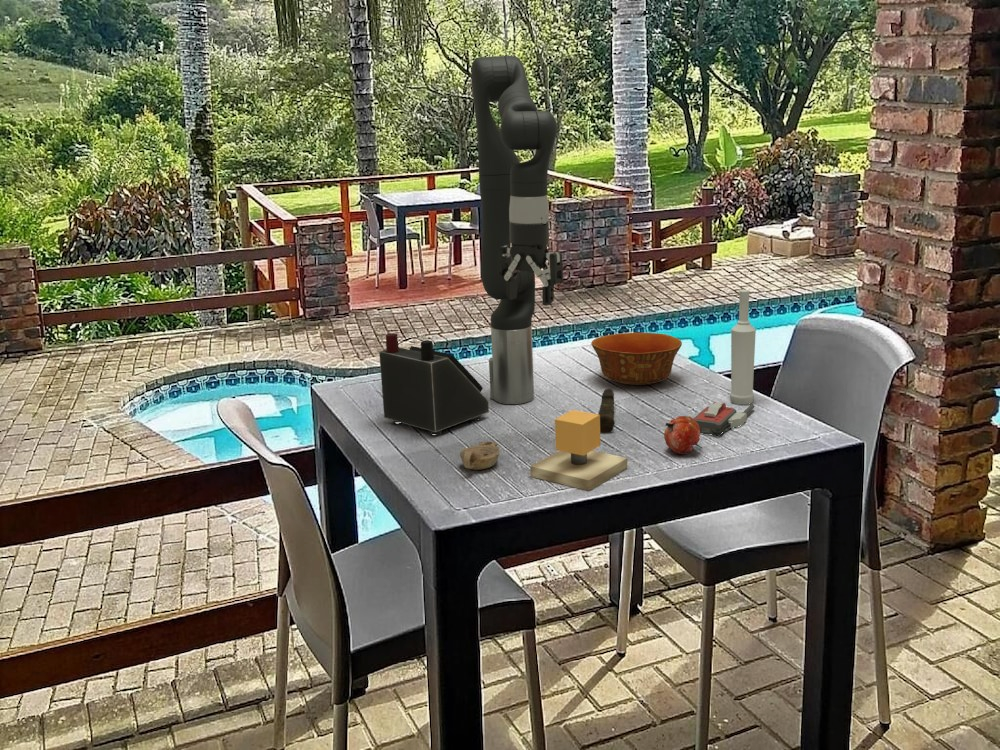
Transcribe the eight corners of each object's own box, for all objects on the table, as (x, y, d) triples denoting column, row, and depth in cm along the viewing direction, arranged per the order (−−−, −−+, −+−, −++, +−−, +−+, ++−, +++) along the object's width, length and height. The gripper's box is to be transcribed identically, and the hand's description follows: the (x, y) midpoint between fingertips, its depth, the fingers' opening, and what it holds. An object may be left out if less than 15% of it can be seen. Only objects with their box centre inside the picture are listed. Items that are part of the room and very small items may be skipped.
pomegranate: (686, 453, 210) (647, 428, 207) (709, 425, 208) (671, 400, 205) (696, 470, 203) (657, 445, 200) (720, 441, 201) (681, 416, 198)
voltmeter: (490, 418, 229) (486, 328, 224) (435, 438, 218) (430, 345, 212) (439, 404, 240) (433, 319, 234) (384, 423, 228) (377, 334, 223)
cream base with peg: (530, 476, 195) (528, 425, 193) (570, 455, 205) (568, 406, 202) (589, 490, 188) (588, 437, 185) (627, 468, 197) (627, 417, 194)
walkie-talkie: (728, 441, 210) (757, 412, 227) (728, 420, 209) (758, 393, 225) (686, 435, 214) (718, 407, 231) (686, 415, 213) (718, 388, 230)
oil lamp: (475, 453, 209) (474, 429, 207) (510, 457, 206) (509, 432, 204) (447, 476, 197) (446, 451, 196) (484, 481, 194) (482, 455, 193)
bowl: (619, 365, 265) (619, 326, 262) (696, 376, 253) (697, 336, 250) (575, 386, 249) (574, 345, 246) (656, 399, 237) (656, 356, 234)
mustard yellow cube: (555, 450, 195) (554, 419, 193) (573, 439, 199) (572, 409, 197) (583, 455, 191) (582, 424, 189) (600, 445, 196) (599, 414, 194)
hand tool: (613, 434, 216) (613, 413, 215) (594, 434, 217) (594, 412, 216) (622, 406, 234) (621, 386, 233) (603, 405, 235) (603, 386, 234)
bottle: (749, 406, 229) (752, 293, 222) (726, 403, 232) (728, 292, 225) (757, 399, 233) (760, 289, 226) (734, 397, 236) (736, 287, 229)
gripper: (487, 218, 202) (489, 300, 207) (547, 224, 194) (547, 310, 198) (511, 213, 208) (512, 293, 212) (571, 219, 199) (570, 303, 204)
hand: (529, 301), depth 205 cm, fingers open, 8 cm apart
